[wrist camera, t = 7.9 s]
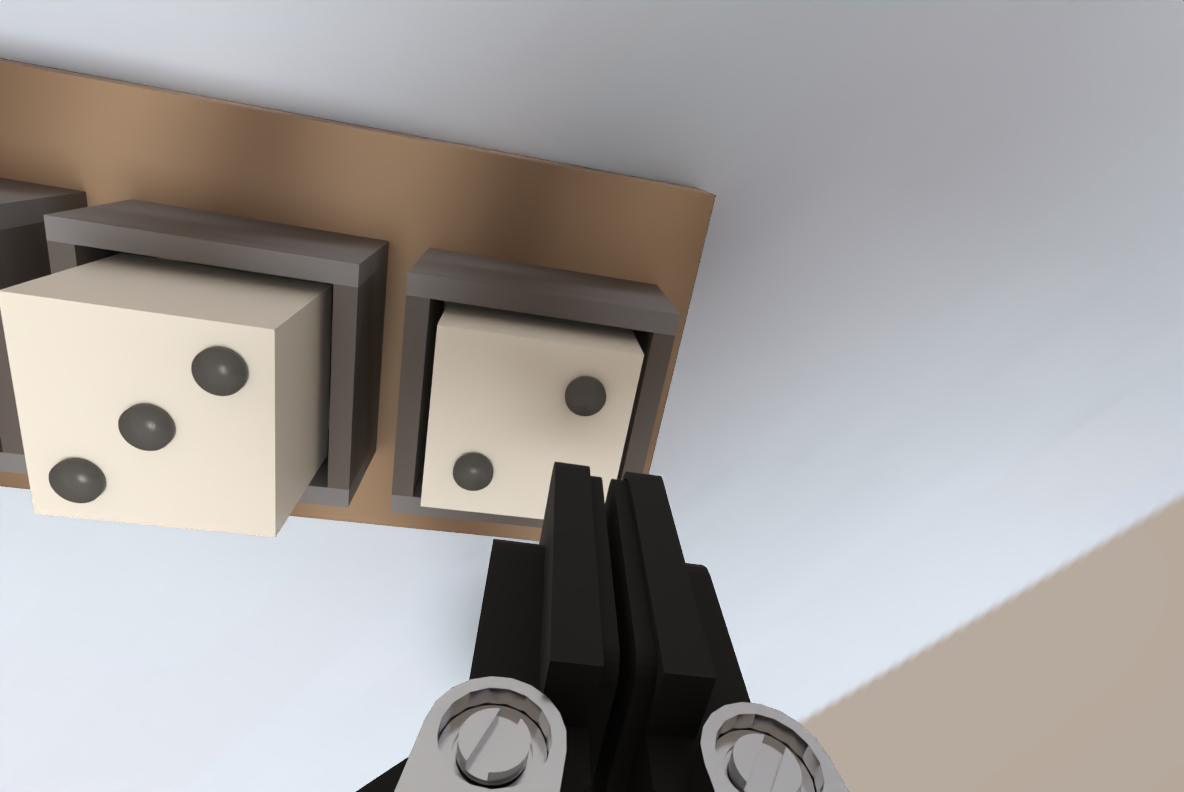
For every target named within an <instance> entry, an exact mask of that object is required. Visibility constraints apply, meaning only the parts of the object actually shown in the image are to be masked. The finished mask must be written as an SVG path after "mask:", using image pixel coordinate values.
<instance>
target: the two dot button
mask: <svg viewBox="0 0 1184 792" xmlns="http://www.w3.org/2000/svg"><path fill="white" fill-rule="evenodd" d="M643 358H644V354H643V352H642V349H641V347H640V345H639V343H638V341H637V339H636V337H635V335H634V333H633V331H632V329H627V328H620V327H614V326H607V325H601V324H594V323H587V322H581V321H574V320H568V319H561V318H554V317H548V316H541V315H535V314H528V313H522V312H515V311H508V310H502V309H495V308H489V307H482V306H476V305H469V304H462V303H456V302H448V304H447V306H446V308H445V310H444V312H443V314H442V316H441V318H440V320H439V322H438V324H437V333H436V344H435V355H434V366H433V376H432V387H431V398H430V409H429V420H428V430H427V441H426V452H425V463H424V473H423V484H422V495H421V506H423V507H432V508H441V509H451V510H460V511H470V512H479V513H488V514H498V515H507V516H516V517H526V518H535V519H544V515H545V509H546V504H547V498H548V492H549V487H550V481H551V476H552V470H553V466H554V462H562V463H570V464H577V465H584V466H589V467H590V475H591V476H596V477H602V481H603V491H604V501H606V497H607V492H608V488H609V484H610V481H611V479H617V476H618V471H619V467H620V462H621V458H622V453H623V449H624V444H625V440H626V435H627V431H628V426H629V422H630V417H631V413H632V408H633V403H634V399H635V394H636V390H637V385H638V381H639V376H640V372H641V367H642V363H643Z"/></svg>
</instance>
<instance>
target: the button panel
mask: <svg viewBox="0 0 1184 792" xmlns="http://www.w3.org/2000/svg"><path fill="white" fill-rule="evenodd" d="M715 196H716V195H713V194H711V193H708V192H705V191H703V190H700V189H697V188H692V187H687V186H681V185H676V184H671V183H665V182H660V181H655V180H649V179H644V178H639V177H633V176H628V175H622V174H617V173H612V172H606V171H601V170H596V169H590V168H585V167H580V166H574V165H569V164H564V163H558V162H553V161H547V160H542V159H537V158H531V157H526V156H521V155H515V154H510V153H505V152H499V151H494V150H489V149H483V148H478V147H473V146H467V145H462V144H456V143H451V142H446V141H440V140H435V139H430V138H424V137H419V136H414V135H408V134H403V133H398V132H392V131H387V130H381V129H376V128H371V127H365V126H360V125H355V124H349V123H344V122H339V121H333V120H328V119H323V118H317V117H312V116H307V115H301V114H296V113H290V112H285V111H280V110H274V109H269V108H264V107H258V106H253V105H248V104H242V103H237V102H232V101H226V100H221V99H216V98H210V97H205V96H199V95H194V94H189V93H183V92H178V91H173V90H167V89H162V88H157V87H151V86H146V85H141V84H135V83H130V82H124V81H119V80H114V79H108V78H103V77H98V76H92V75H87V74H82V73H76V72H71V71H66V70H60V69H55V68H50V67H44V66H39V65H33V64H28V63H23V62H17V61H12V60H7V59H1V58H0V290H1V289H5V288H8V287H11V286H14V285H18V284H21V283H24V282H28V281H31V280H34V279H37V278H41V277H44V276H47V275H51V274H54V273H57V272H60V271H64V270H67V269H70V268H74V267H77V266H80V265H83V264H87V263H90V262H93V261H97V260H100V259H103V258H106V257H110V256H113V255H116V254H120V253H125V254H132V255H139V256H145V257H152V258H158V259H165V260H172V261H178V262H185V263H191V264H198V265H205V266H211V267H218V268H224V269H231V270H237V271H244V272H251V273H257V274H264V275H270V276H277V277H284V278H290V279H297V280H303V281H310V282H317V283H323V284H330V285H332V308H331V342H330V376H329V410H328V444H327V457H326V458H325V460H324V461H323V463H322V465H321V466H320V468H319V469H318V471H317V472H316V474H315V476H314V477H313V479H312V480H311V482H310V483H309V485H308V487H307V488H306V490H305V491H304V493H303V495H302V496H301V498H300V499H299V501H298V502H297V504H296V506H295V507H294V509H293V510H292V512H291V513H290V515H289V516H298V517H308V518H318V519H328V520H338V521H347V522H357V523H367V524H377V525H387V526H397V527H406V528H416V529H426V530H436V531H446V532H456V533H465V534H475V535H485V536H495V537H505V538H515V539H524V540H534V541H540V537H541V532H542V526H543V520H544V519H535V518H526V517H516V516H507V515H498V514H488V513H479V512H470V511H460V510H451V509H441V508H432V507H423V506H421V495H422V484H423V473H424V463H425V452H426V441H427V430H428V420H429V409H430V398H431V387H432V376H433V366H434V355H435V344H436V333H437V324H438V322H439V320H440V318H441V316H442V314H443V312H444V310H445V308H446V306H447V304H448V302H456V303H462V304H469V305H476V306H482V307H489V308H495V309H502V310H508V311H515V312H522V313H528V314H535V315H541V316H548V317H554V318H561V319H568V320H574V321H581V322H587V323H594V324H601V325H607V326H614V327H620V328H627V329H632V331H633V333H634V335H635V337H636V339H637V341H638V343H639V345H640V347H641V349H642V352H643V354H644V358H643V363H642V367H641V372H640V376H639V381H638V385H637V390H636V394H635V399H634V403H633V408H632V413H631V417H630V422H629V426H628V431H627V435H626V440H625V444H624V449H623V453H622V458H621V462H620V467H619V471H618V476H617V479H618V480H622V479H623V476H624V474H625V472H626V471H627V472H634V473H641V474H648V475H649V470H650V466H651V462H652V458H653V454H654V450H655V446H656V441H657V437H658V433H659V429H660V425H661V421H662V417H663V412H664V408H665V404H666V400H667V396H668V392H669V387H670V383H671V379H672V375H673V371H674V367H675V363H676V358H677V354H678V350H679V346H680V342H681V338H682V333H683V329H684V325H685V321H686V317H687V313H688V309H689V304H690V300H691V296H692V292H693V288H694V284H695V279H696V275H697V271H698V267H699V263H700V259H701V255H702V250H703V246H704V242H705V238H706V234H707V230H708V225H709V221H710V217H711V213H712V209H713V205H714V201H715ZM0 486H3V487H13V488H23V489H30V484H29V478H28V472H27V466H26V460H25V454H24V448H23V442H22V436H21V430H20V424H19V418H18V412H17V406H16V400H15V394H14V388H13V382H12V376H11V370H10V364H9V358H8V352H7V346H6V340H5V334H4V328H3V322H2V316H1V310H0Z"/></svg>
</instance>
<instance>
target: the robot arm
mask: <svg viewBox="0 0 1184 792" xmlns="http://www.w3.org/2000/svg"><path fill="white" fill-rule="evenodd" d="M356 792H849V790H848V788H847V787H846V785H845V783H844V781H843V779H842V778H841V776H840V774H839V772H838V771H837V769H836V767H835V765H834V764H833V762H832V760H831V758H830V756H829V755H828V754H827V752H826V751H825V750H824V748H823V747H822V746H821V744H820V743H819V741H818V740H817V738H815V737H814V736H813V735H812V734H811V733H810V732H809V731H808V730H807V729H805V727H803V726H802V725H801V724H800V723H799V722H797V721H796V720H794V719H792V718H791V717H789V716H787V715H786V714H784V713H783V712H781V711H779V710H776V709H773V708H770V707H767V706H765V705H762V704H756V703H751V702H750V699H749V696H748V693H747V690H746V686H745V683H744V680H743V677H742V674H741V671H740V668H739V665H738V661H737V658H736V655H735V652H734V649H733V646H732V643H731V639H730V636H729V633H728V630H727V627H726V624H725V621H724V617H723V614H722V611H721V608H720V605H719V602H718V599H717V595H716V592H715V589H714V586H713V583H712V580H711V577H710V574H709V572H708V570H707V568H706V567H705V566H703V565H697V564H689V563H685V560H684V557H683V553H682V549H681V546H680V542H679V538H678V535H677V531H676V527H675V524H674V520H673V516H672V513H671V509H670V505H669V501H668V498H667V494H666V490H665V487H664V483H663V480H662V477H661V476H655V475H648V474H641V473H634V472H627V471H626V472H625V474H624V476H623V479H622V480H618V479H611V481H610V484H609V488H608V492H607V497H606V501H604V491H603V481H602V477H596V476H591V475H590V467H589V466H584V465H577V464H570V463H562V462H554V466H553V470H552V476H551V481H550V487H549V492H548V498H547V504H546V509H545V515H544V520H543V526H542V532H541V537H540V543H539V545H538V544H530V543H522V542H514V541H506V540H498V539H494V540H493V545H492V551H491V557H490V562H489V568H488V574H487V580H486V586H485V592H484V597H483V603H482V609H481V615H480V621H479V627H478V632H477V638H476V644H475V650H474V656H473V661H472V667H471V673H470V679H469V680H468V681H466V682H464V683H461V684H459V685H457V686H455V687H452V688H451V689H450V690H449V691H447V692H446V693H445V694H444V695H443V696H441V697H440V698H439V699H438V700H437V701H436V702H435V703H434V705H433V707H432V708H431V710H430V711H429V713H428V714H427V716H426V718H425V720H424V722H423V725H422V727H421V729H420V732H419V734H418V736H417V739H416V741H415V744H414V746H413V748H412V751H411V753H410V755H409V757H408V758H406V759H405V760H403V761H402V762H400V763H399V764H397V765H396V766H394V767H393V768H391V769H390V770H388V771H386V772H385V773H383V774H382V775H380V776H379V777H377V778H376V779H374V780H373V781H371V782H370V783H368V784H367V785H365V786H364V787H362V788H361V789H359V790H358V791H356Z"/></svg>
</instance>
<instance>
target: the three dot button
mask: <svg viewBox="0 0 1184 792" xmlns="http://www.w3.org/2000/svg"><path fill="white" fill-rule="evenodd" d="M331 308H332V285H330V284H323V283H317V282H310V281H303V280H297V279H290V278H284V277H277V276H270V275H264V274H257V273H251V272H244V271H237V270H231V269H224V268H218V267H211V266H205V265H198V264H191V263H185V262H178V261H172V260H165V259H158V258H152V257H145V256H139V255H132V254H125V253H120V254H116V255H113V256H110V257H106V258H103V259H100V260H97V261H93V262H90V263H87V264H83V265H80V266H77V267H74V268H70V269H67V270H64V271H60V272H57V273H54V274H51V275H47V276H44V277H41V278H37V279H34V280H31V281H28V282H24V283H21V284H18V285H14V286H11V287H8V288H5V289H1V290H0V310H1V316H2V322H3V328H4V334H5V340H6V346H7V352H8V358H9V364H10V370H11V376H12V382H13V388H14V394H15V400H16V406H17V412H18V418H19V424H20V430H21V436H22V442H23V448H24V454H25V460H26V466H27V472H28V478H29V484H30V490H31V496H32V502H33V508H34V514H41V515H51V516H62V517H72V518H82V519H93V520H103V521H113V522H124V523H134V524H144V525H155V526H165V527H175V528H186V529H196V530H206V531H217V532H227V533H237V534H248V535H258V536H268V537H276V536H277V534H278V532H279V531H280V529H281V528H282V526H283V525H284V523H285V521H286V520H287V518H288V517H289V515H290V513H291V512H292V510H293V509H294V507H295V506H296V504H297V502H298V501H299V499H300V498H301V496H302V495H303V493H304V491H305V490H306V488H307V487H308V485H309V483H310V482H311V480H312V479H313V477H314V476H315V474H316V472H317V471H318V469H319V468H320V466H321V465H322V463H323V461H324V460H325V458H326V457H327V444H328V410H329V376H330V342H331Z"/></svg>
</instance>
